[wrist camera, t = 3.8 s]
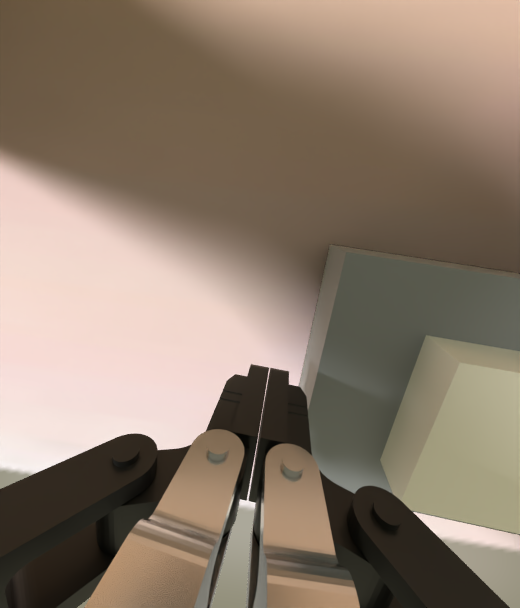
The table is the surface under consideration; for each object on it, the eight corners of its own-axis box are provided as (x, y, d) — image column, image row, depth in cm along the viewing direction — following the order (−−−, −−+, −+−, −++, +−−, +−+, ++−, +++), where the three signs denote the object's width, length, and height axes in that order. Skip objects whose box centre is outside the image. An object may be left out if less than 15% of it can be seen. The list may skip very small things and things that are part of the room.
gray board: (329, 244, 13) (346, 251, 9) (636, 291, 12) (801, 322, 8) (290, 423, 16) (290, 484, 12) (528, 471, 15) (607, 554, 11)
